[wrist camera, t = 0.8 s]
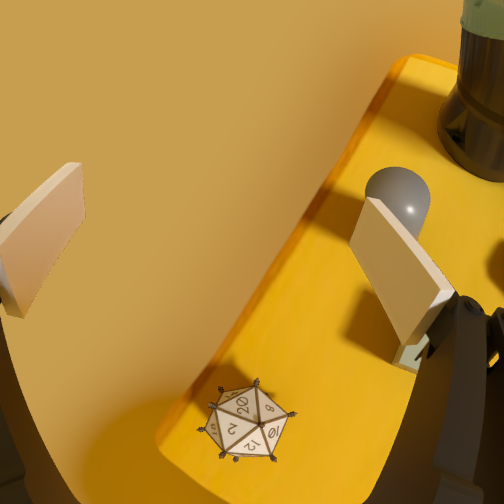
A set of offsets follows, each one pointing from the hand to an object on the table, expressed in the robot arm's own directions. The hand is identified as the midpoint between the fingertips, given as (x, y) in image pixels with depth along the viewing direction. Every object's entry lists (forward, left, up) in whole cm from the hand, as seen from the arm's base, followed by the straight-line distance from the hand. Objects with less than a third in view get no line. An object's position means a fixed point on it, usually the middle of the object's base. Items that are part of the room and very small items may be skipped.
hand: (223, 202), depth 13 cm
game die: (-1, +13, -22) cm, 26 cm away
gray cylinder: (-6, -11, -22) cm, 25 cm away
